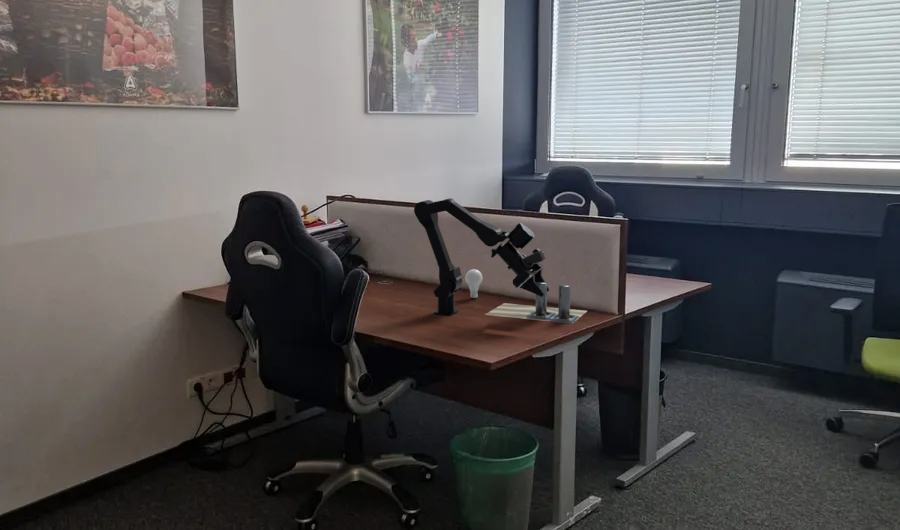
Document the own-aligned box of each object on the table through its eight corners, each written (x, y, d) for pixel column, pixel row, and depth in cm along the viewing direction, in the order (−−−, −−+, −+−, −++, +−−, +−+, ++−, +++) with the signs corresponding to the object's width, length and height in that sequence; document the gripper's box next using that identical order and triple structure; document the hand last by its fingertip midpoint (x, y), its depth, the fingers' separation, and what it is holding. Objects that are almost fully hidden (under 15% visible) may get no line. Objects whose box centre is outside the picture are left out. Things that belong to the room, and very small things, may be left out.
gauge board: (572, 327, 237) (572, 320, 236) (484, 318, 249) (484, 312, 249) (587, 314, 253) (587, 308, 252) (504, 306, 265) (504, 301, 265)
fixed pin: (567, 321, 239) (568, 287, 237) (556, 320, 241) (557, 286, 239) (571, 318, 242) (571, 285, 240) (560, 317, 244) (560, 284, 242)
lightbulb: (482, 300, 275) (482, 270, 273) (465, 300, 275) (465, 270, 274) (482, 296, 282) (482, 267, 280) (465, 296, 282) (465, 267, 280)
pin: (542, 317, 243) (543, 284, 242) (533, 316, 246) (533, 283, 244) (548, 315, 246) (548, 282, 245) (539, 314, 248) (539, 281, 247)
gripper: (522, 245, 234) (557, 282, 232) (537, 237, 251) (569, 272, 250) (498, 269, 238) (532, 305, 236) (514, 259, 256) (545, 293, 254)
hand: (545, 293), depth 244 cm, fingers open, 7 cm apart
